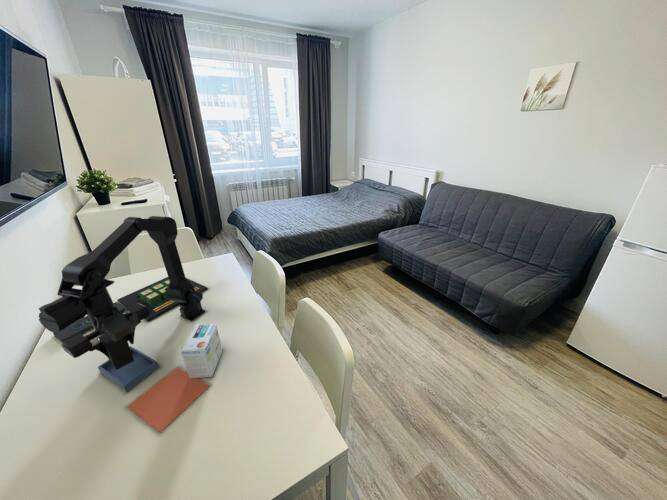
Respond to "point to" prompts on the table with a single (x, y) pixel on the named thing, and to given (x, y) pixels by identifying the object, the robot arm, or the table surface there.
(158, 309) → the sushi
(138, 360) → the slate tray
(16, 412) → the table surface
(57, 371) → the table surface
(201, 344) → the light bulb box
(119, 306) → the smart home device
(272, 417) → the table surface
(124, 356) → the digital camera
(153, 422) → the terracotta mat
